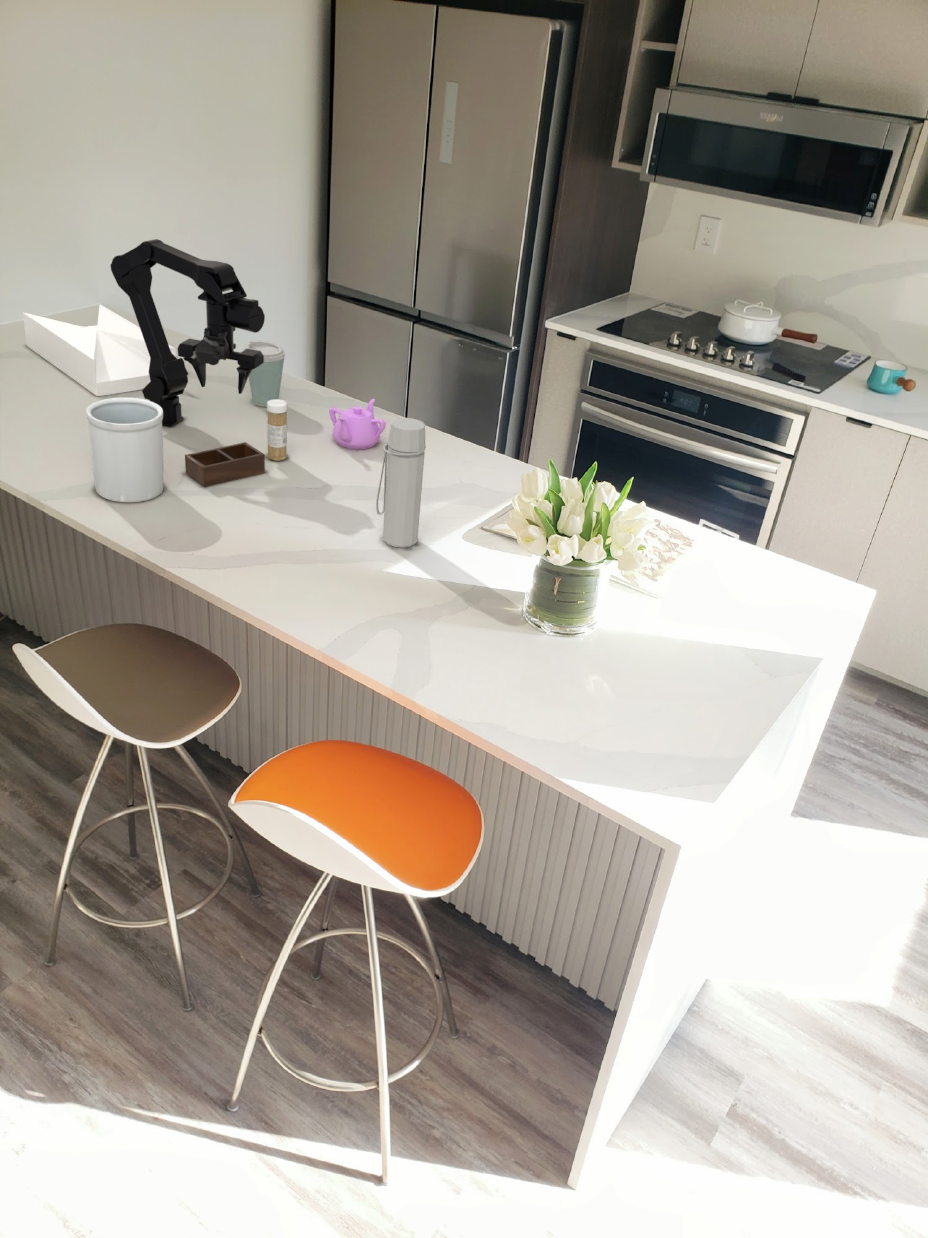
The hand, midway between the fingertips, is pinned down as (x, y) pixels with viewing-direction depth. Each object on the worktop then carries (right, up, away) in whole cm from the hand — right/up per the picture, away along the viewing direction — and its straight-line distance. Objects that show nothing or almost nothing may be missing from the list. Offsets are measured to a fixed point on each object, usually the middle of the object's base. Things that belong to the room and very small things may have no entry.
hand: (221, 390), depth 234 cm
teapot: (+30, -10, +13) cm, 34 cm away
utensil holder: (-14, -26, -21) cm, 36 cm away
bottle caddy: (+3, -21, -10) cm, 23 cm away
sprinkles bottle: (+13, -16, 0) cm, 20 cm away
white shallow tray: (-43, +16, +42) cm, 62 cm away
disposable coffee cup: (+4, +3, +29) cm, 30 cm away
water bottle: (+42, -37, -29) cm, 64 cm away
